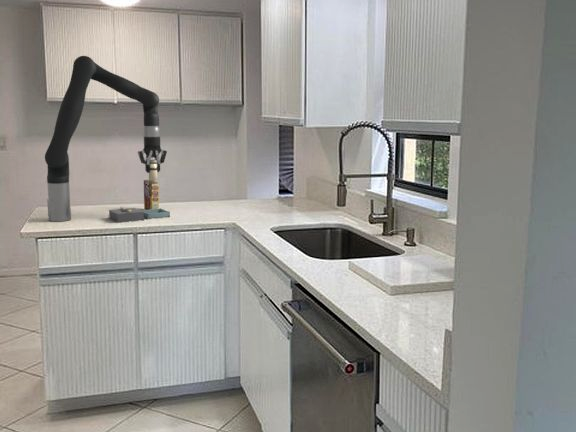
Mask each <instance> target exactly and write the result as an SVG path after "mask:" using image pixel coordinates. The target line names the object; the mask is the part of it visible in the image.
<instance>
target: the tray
mask: <svg viewBox="0 0 576 432" xmlns="http://www.w3.org/2000/svg"><path fill="white" fill-rule="evenodd" d="M140 210H141V211H143V215H144V219H145V220H146V219H147V220H151V219H152V218H155V219H161V218H163V217H165V218H170V217H171V215H170V214H171V213H170V210H166V209H163V208H160V207H159V209H149V210H144V209H140ZM152 220H153V219H152Z"/></svg>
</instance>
